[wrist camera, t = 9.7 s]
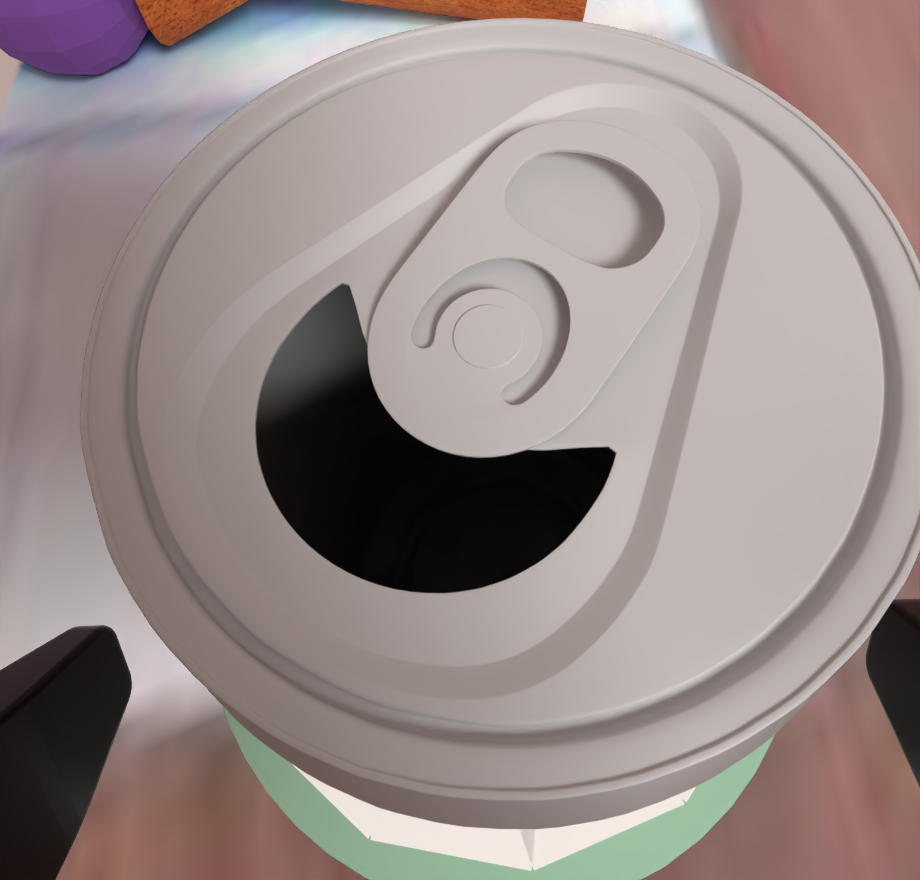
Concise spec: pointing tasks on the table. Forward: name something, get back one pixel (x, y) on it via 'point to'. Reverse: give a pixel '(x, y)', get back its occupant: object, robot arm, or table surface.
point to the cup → (492, 830)
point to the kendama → (183, 25)
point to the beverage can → (511, 418)
